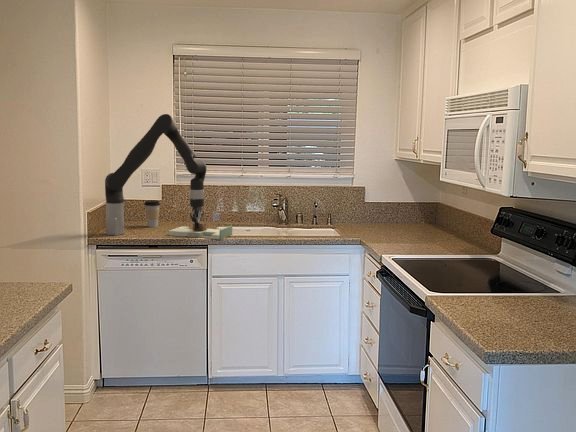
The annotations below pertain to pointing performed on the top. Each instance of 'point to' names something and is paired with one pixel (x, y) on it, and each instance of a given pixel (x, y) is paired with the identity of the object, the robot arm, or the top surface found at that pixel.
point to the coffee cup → (152, 213)
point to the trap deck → (201, 232)
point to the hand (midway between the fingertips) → (197, 229)
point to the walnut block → (200, 226)
